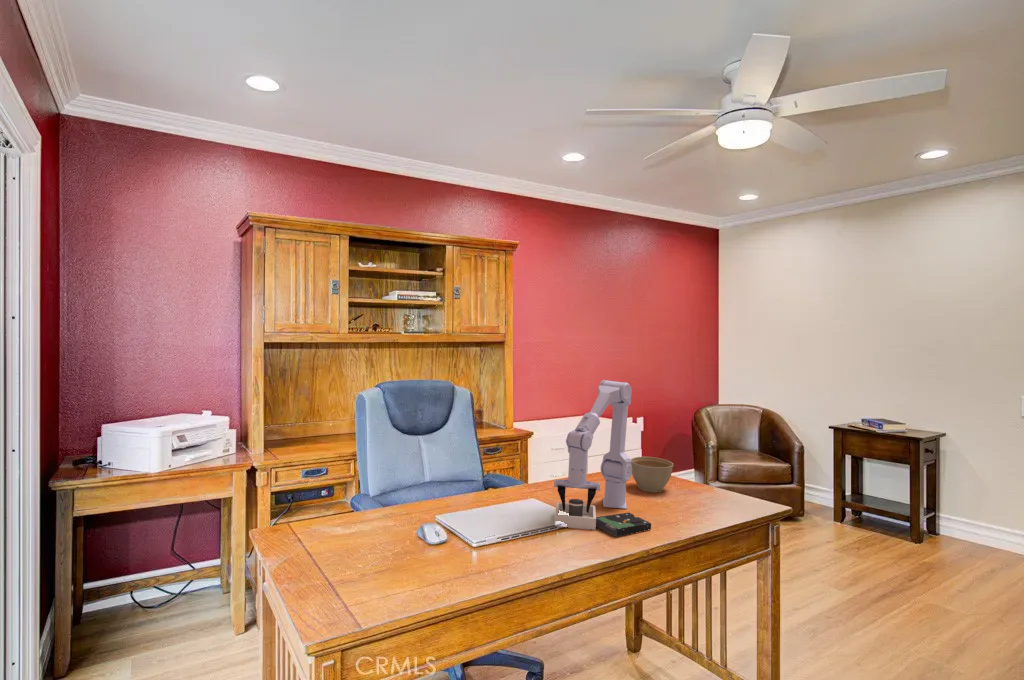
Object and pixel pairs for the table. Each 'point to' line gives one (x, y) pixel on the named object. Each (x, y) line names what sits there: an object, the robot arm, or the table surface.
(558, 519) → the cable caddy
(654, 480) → the planter bowl
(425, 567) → the table surface
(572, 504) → the dark grey spool
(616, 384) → the robot arm
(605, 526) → the disk drive
